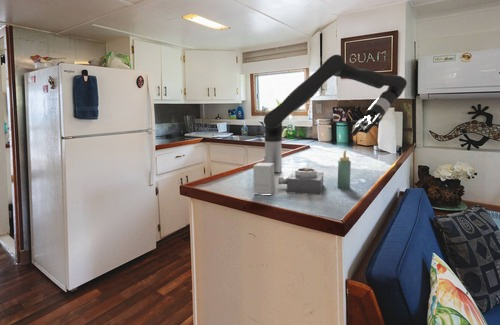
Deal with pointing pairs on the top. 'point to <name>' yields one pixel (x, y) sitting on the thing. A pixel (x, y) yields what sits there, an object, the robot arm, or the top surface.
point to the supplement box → (264, 178)
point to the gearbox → (304, 181)
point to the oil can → (344, 172)
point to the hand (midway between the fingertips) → (358, 133)
